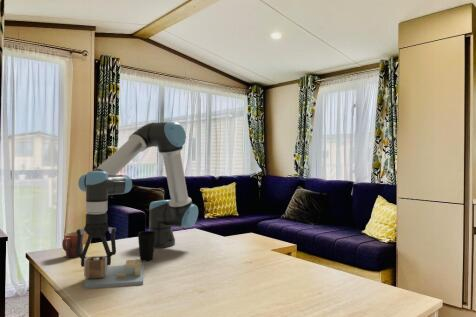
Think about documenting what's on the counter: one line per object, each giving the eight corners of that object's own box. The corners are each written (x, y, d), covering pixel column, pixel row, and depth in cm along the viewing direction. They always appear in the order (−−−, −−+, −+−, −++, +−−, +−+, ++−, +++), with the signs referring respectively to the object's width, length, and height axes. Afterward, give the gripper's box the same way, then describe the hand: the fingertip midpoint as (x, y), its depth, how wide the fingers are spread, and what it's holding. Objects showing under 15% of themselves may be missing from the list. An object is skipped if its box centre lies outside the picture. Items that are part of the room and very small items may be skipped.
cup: (157, 257, 164) (157, 231, 164) (151, 262, 156) (152, 234, 156) (141, 256, 165) (141, 230, 165) (134, 261, 157) (135, 234, 157)
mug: (72, 252, 170) (72, 231, 170) (88, 254, 168) (88, 232, 168) (54, 260, 158) (54, 236, 158) (72, 261, 156) (72, 238, 156)
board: (143, 266, 150) (143, 264, 150) (143, 284, 129) (143, 281, 129) (92, 270, 145) (92, 267, 145) (83, 288, 124) (83, 285, 124)
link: (92, 265, 144) (92, 250, 144) (108, 264, 146) (109, 249, 146) (85, 278, 129) (85, 261, 129) (104, 277, 131) (104, 260, 131)
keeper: (140, 270, 141) (141, 259, 141) (140, 277, 133) (140, 265, 133) (118, 272, 139) (118, 260, 139) (116, 278, 131) (116, 266, 131)
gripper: (124, 210, 139) (124, 269, 139) (70, 211, 134) (70, 273, 134) (123, 213, 131) (122, 275, 131) (66, 214, 127) (65, 279, 127)
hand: (96, 274), depth 133 cm, fingers closed on link, 6 cm apart
